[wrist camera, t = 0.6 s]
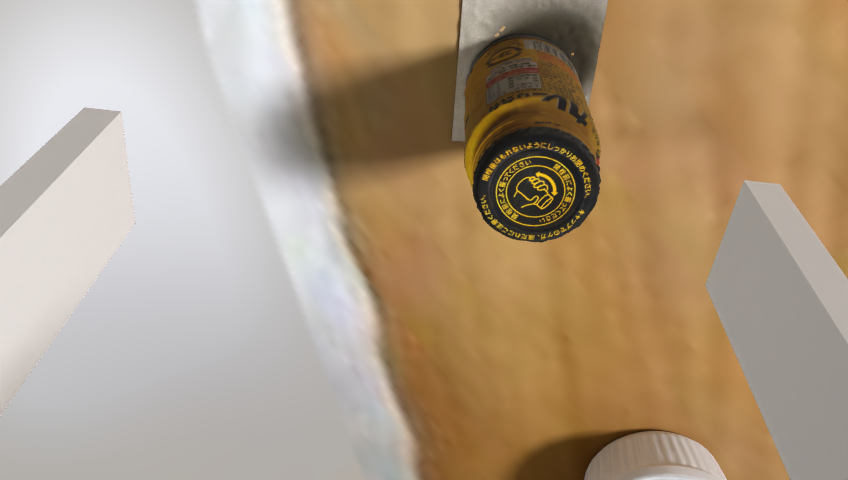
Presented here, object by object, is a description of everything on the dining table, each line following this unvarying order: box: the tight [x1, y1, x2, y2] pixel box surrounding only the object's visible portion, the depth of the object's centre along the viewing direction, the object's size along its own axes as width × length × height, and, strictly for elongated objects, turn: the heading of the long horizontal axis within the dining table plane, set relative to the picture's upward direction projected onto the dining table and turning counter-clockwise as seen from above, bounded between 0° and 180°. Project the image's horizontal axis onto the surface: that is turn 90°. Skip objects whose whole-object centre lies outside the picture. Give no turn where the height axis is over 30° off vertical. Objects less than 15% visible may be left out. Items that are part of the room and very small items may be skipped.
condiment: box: [452, 0, 608, 242], centre depth 36 cm, size 7×8×12 cm
